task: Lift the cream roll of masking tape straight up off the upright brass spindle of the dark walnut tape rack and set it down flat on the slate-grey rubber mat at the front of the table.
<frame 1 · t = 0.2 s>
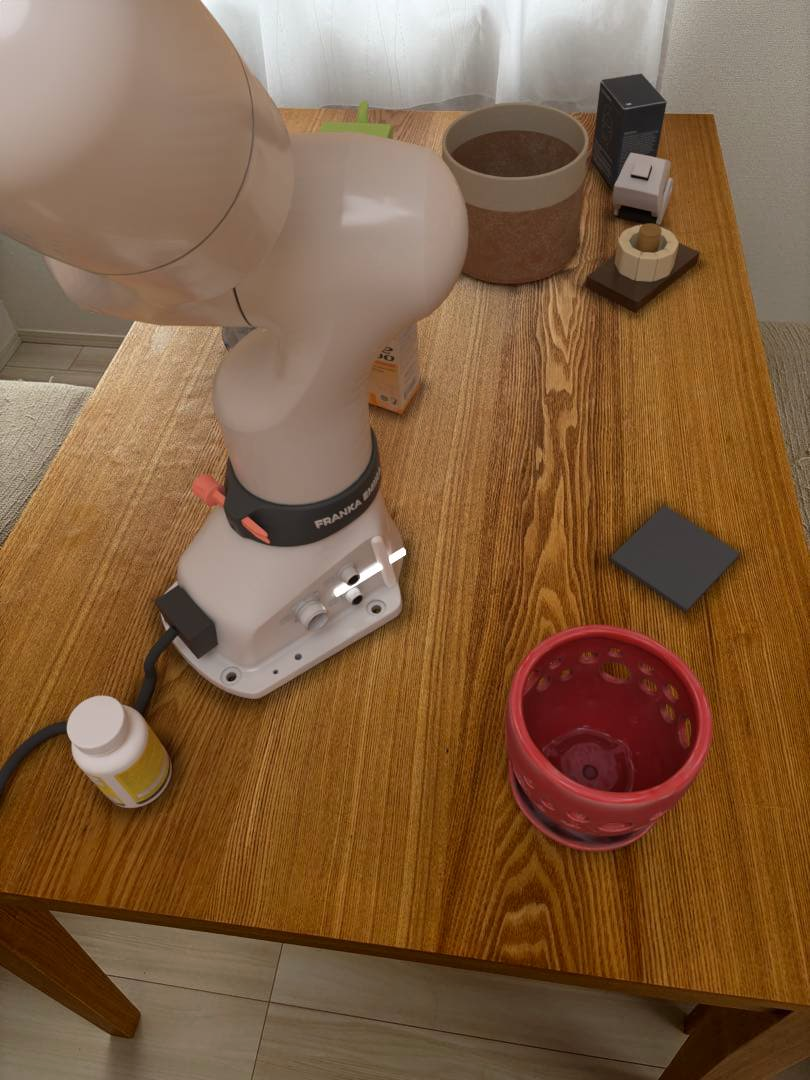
tape rack: (641, 275, 101), on the table
bowl: (289, 360, 96), on the table
grey boxy gadget: (638, 219, 107), on the table
supplement bottle: (139, 776, 68), on the table
tape roll: (643, 264, 99), point 1 cm above the table, touching tape rack
mat: (673, 558, 77), on the table
flower pot: (588, 777, 66), on the table
box: (620, 172, 114), on the table
supplement box: (377, 393, 92), on the table
planter: (509, 249, 105), on the table
teapot: (356, 213, 112), on the table
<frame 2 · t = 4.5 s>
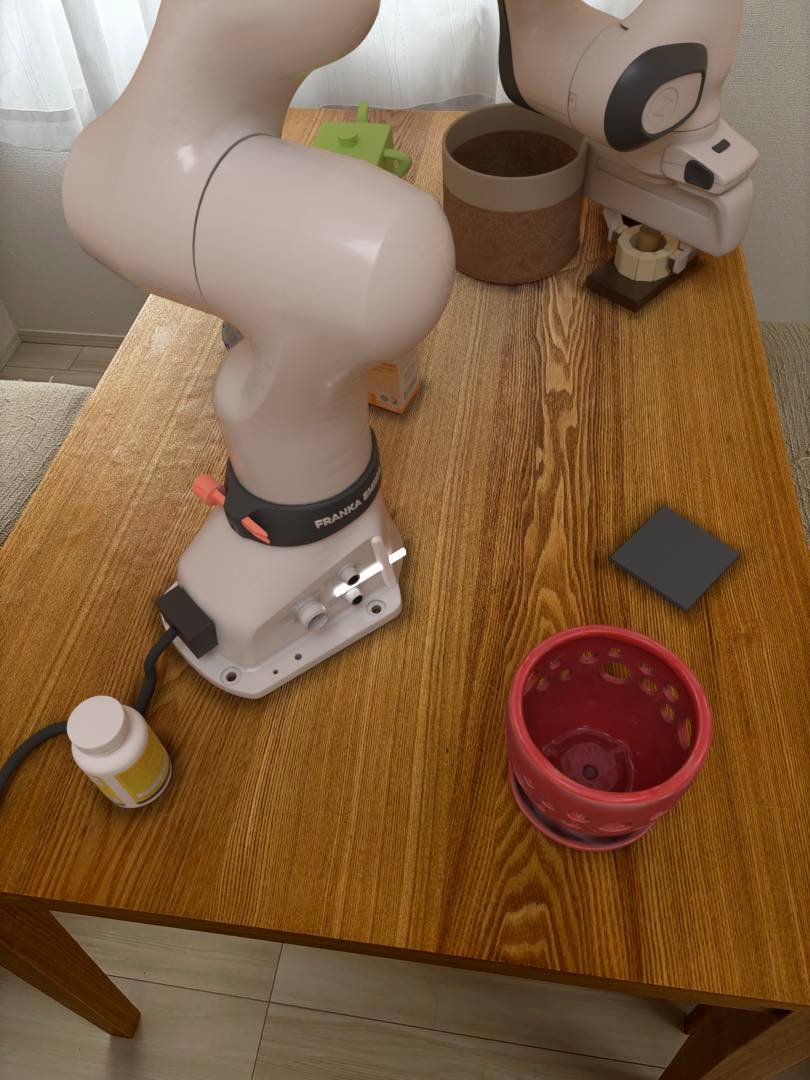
hand: (645, 255, 98), 3 cm above the table, tool pointing down, fingers closed on tape roll, 6 cm apart
tape roll: (643, 264, 99), point 2 cm above the table, touching gripper, tape rack
everything else where it was.
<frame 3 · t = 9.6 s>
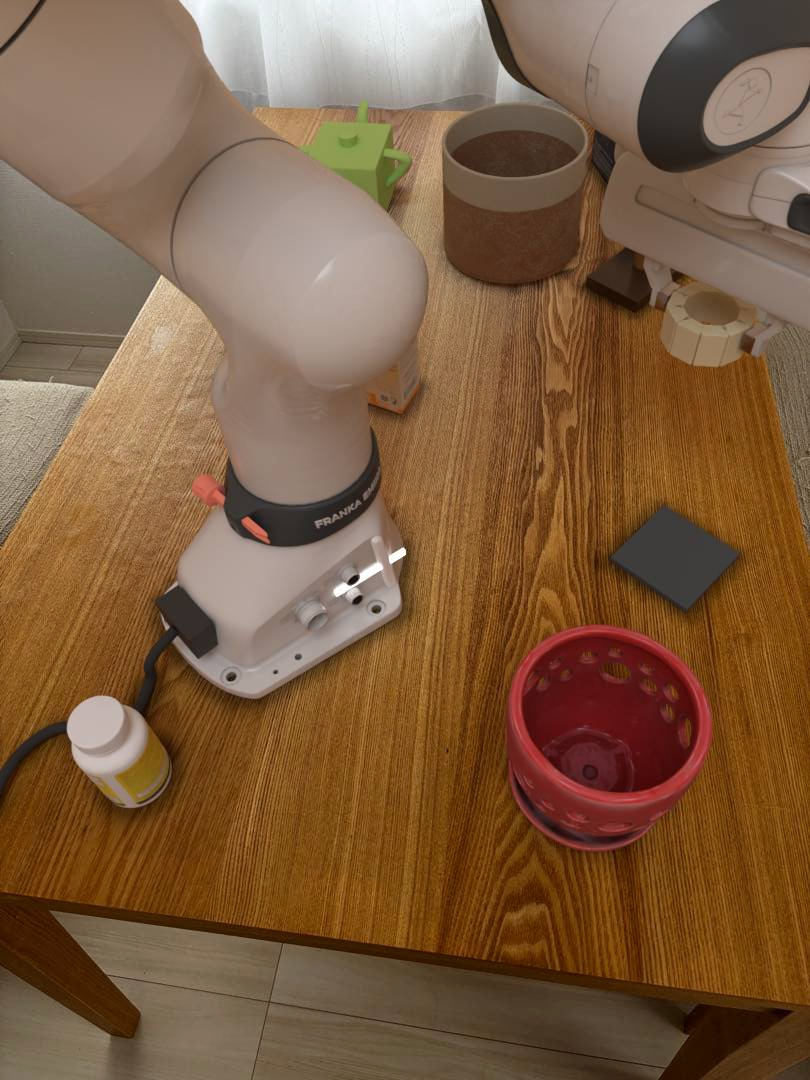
hand: (706, 327, 67), 19 cm above the table, tool pointing down, fingers closed on tape roll, 6 cm apart
tape roll: (703, 339, 68), point 18 cm above the table, touching gripper
everything else where it was.
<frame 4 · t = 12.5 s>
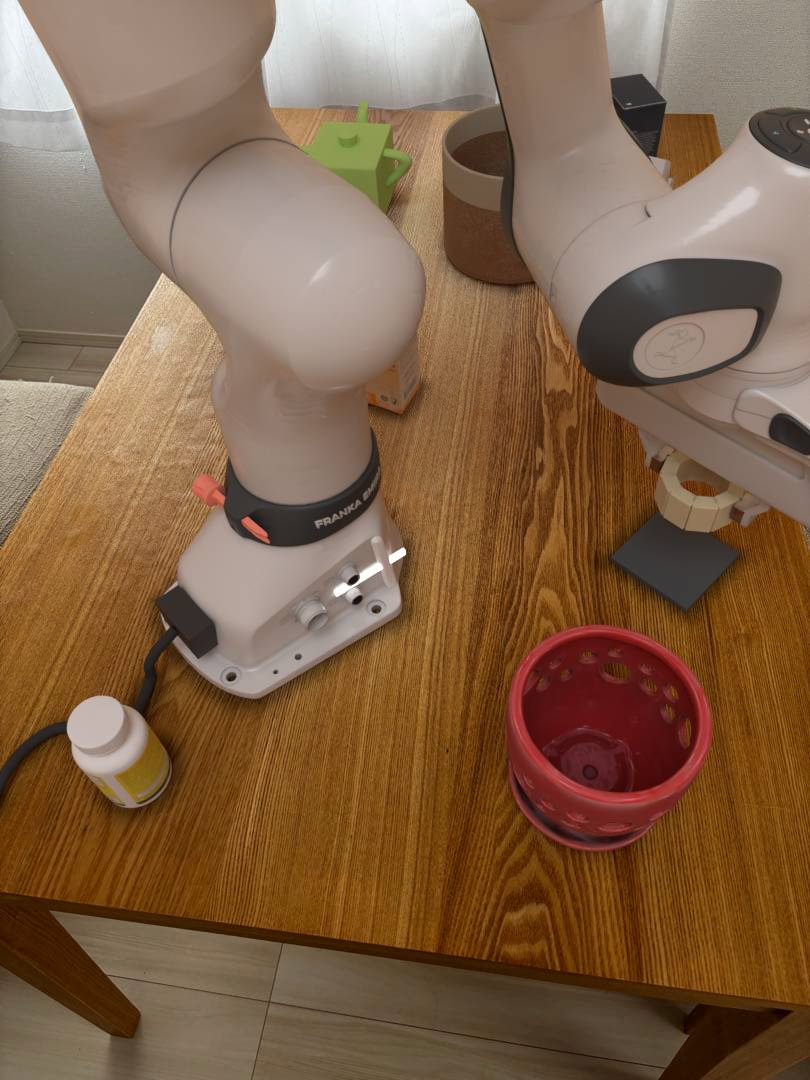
hand: (699, 491, 69), 9 cm above the table, tool pointing down, fingers closed on tape roll, 6 cm apart
tape roll: (695, 500, 70), point 8 cm above the table, touching gripper
everything else where it was.
when the fingers open (1 cm above the table, at t = 14.9 s): tape roll stays where it is, resting on mat.
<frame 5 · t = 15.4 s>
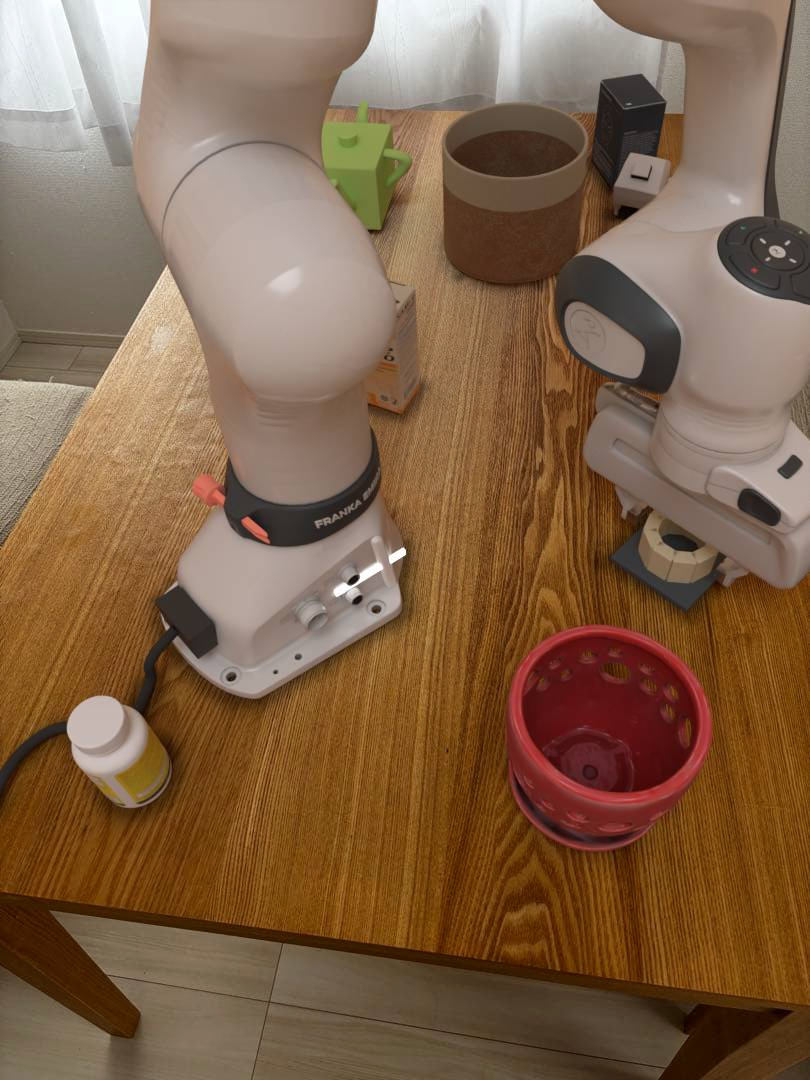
hand: (677, 547, 75), 2 cm above the table, tool pointing down, fingers open, 8 cm apart
tape roll: (676, 552, 76), point 1 cm above the table, touching mat
everything else where it was.
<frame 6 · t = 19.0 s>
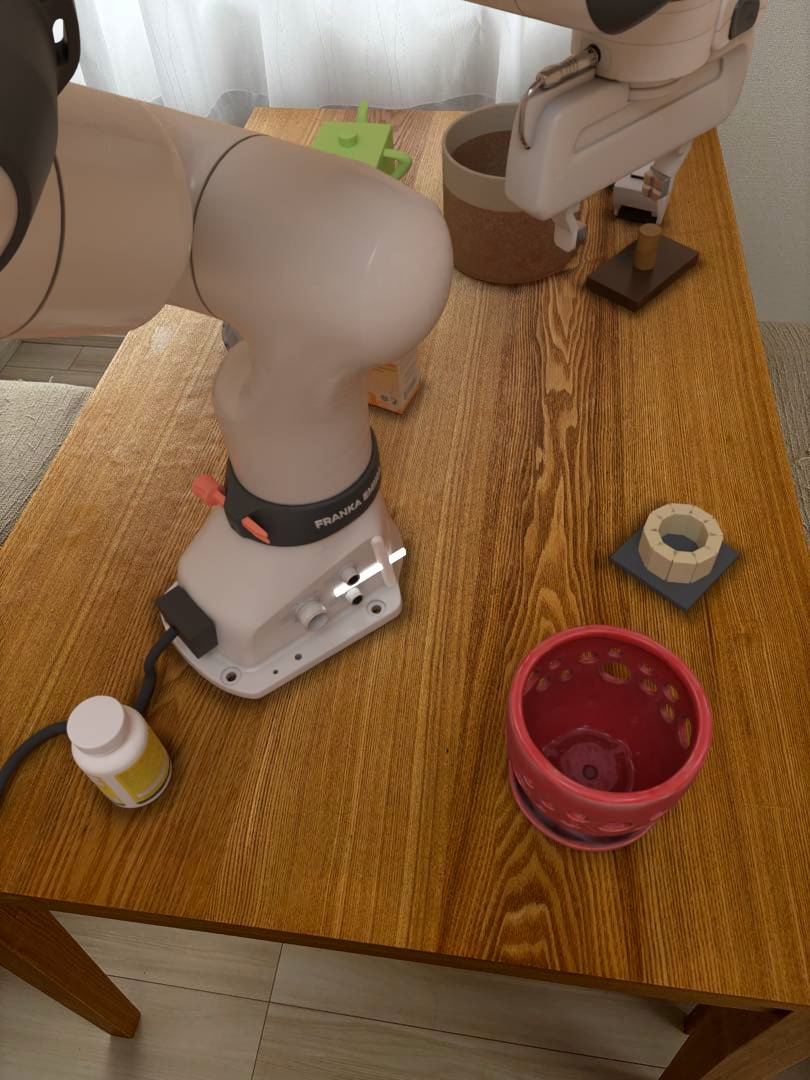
hand: (613, 219, 66), 25 cm above the table, tool pointing down, fingers open, 8 cm apart
nothing on the table moved.
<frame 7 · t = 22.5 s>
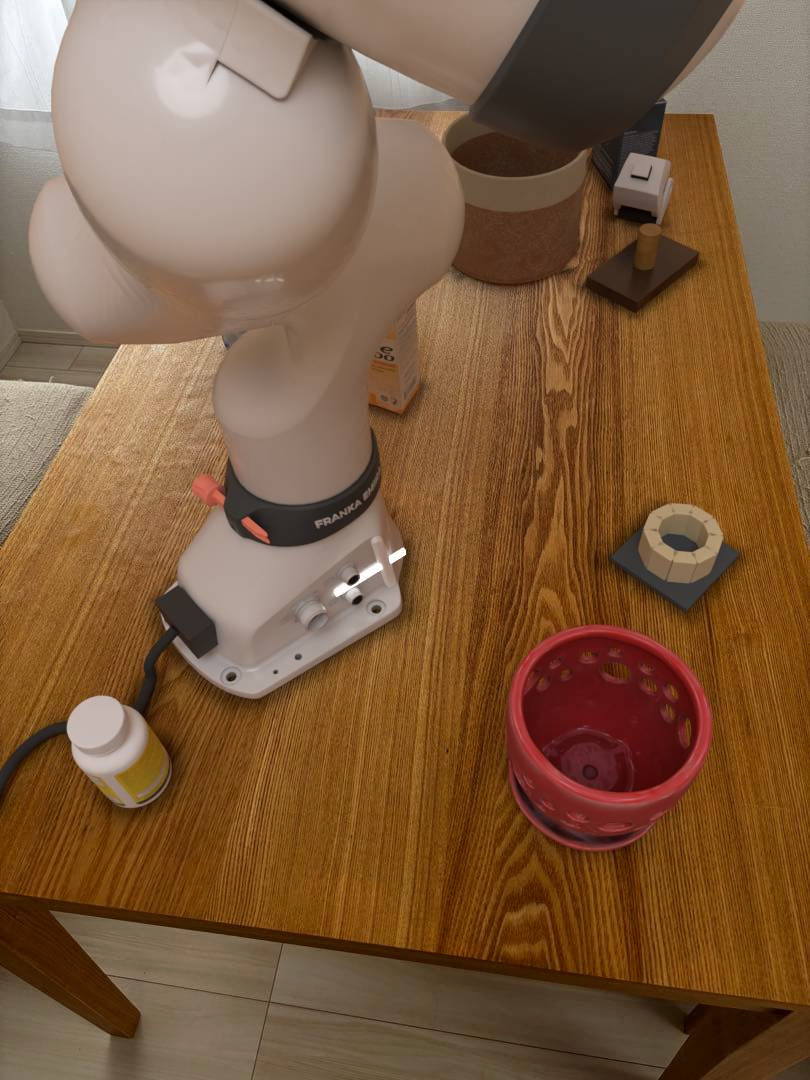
hand: (504, 43, 70), 31 cm above the table, tool pointing down, fingers open, 8 cm apart
nothing on the table moved.
at the end: tape roll inside the target area on the mat (0.3 cm from its centre), point 0.6 cm above the mat's base; tape roll tilted 0°; the gripper is holding nothing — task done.
